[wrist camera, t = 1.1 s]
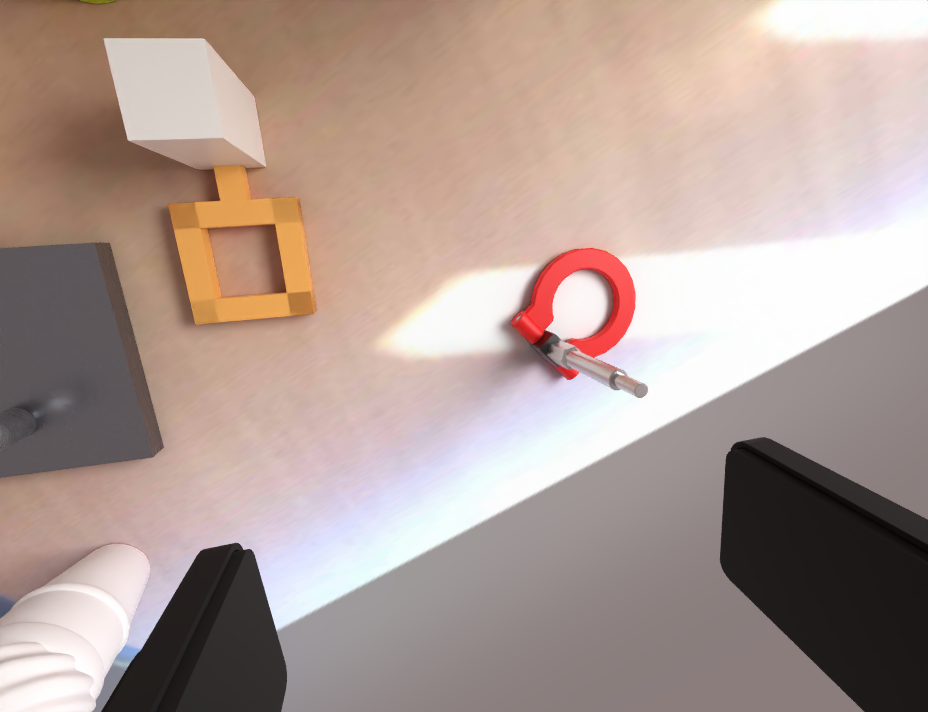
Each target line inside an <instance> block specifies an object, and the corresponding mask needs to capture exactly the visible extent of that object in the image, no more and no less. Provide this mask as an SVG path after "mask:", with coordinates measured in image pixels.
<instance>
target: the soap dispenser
mask: <svg viewBox="0 0 928 712" xmlns="http://www.w3.org/2000/svg"><path fill="white" fill-rule="evenodd" d="M79 1H83V2H87V3H96V4H101V3H109V2H113V1H116V0H79Z"/></svg>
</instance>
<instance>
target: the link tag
mask: <svg viewBox="0 0 928 712" xmlns="http://www.w3.org/2000/svg"><path fill="white" fill-rule="evenodd" d="M103 39H104V43H105V47H106V52H107V56H108V60H109V64H110V68H111V72H112V76H113V81H114V85H115V89H116V93H117V97H118V101H119V106H120V110H121V114H122V118H123V122H124V126H125V131H126V135H127V139H128V141H130V142H132V143H135V144H137V145H140V146H142V147H144V148H147V149H149V150H152V151H154V152H157V153H159V154H161V155H164V156H166V157H169V158H171V159H173V160H176V161H178V162H181V163H183V164H186V165H188V166H190V167H193V168H195V169H198V170H212V169H214V172H215V177H216V182H217V187H218V192H219V197H220V201H209V202H190V203H170V204H168V206H169V211H170V215H171V220H172V224H173V228H174V233H175V237H176V242H177V246H178V251H179V255H180V259H181V264H182V268H183V273H184V277H185V281H186V286H187V290H188V295H189V299H190V303H191V308H192V312H193V317H194V321H195V324H206V323H217V322H228V321H239V320H250V319H261V318H272V317H283V316H294V315H305V314H314V313H315V312H316V311H317V310H316V304H315V297H314V291H313V284H312V278H311V271H310V265H309V258H308V252H307V245H306V239H305V232H304V226H303V219H302V213H301V206H300V200H299V199H298V198H297V197H288V198H268V199H251V195H250V189H249V184H248V178H247V173H246V168H261V167H266V162H265V156H264V150H263V144H262V138H261V132H260V126H259V120H258V114H257V108H256V103H255V97H254V96H253V95H252V94H251V92H250V91H249V90H248V89H247V88H246V87H245V85H244V84H243V83H242V82H241V81H240V80H239V78H238V77H237V76H236V75H235V74H234V73H233V71H232V70H231V69H230V68H229V67H228V66H227V64H226V63H225V62H224V61H223V60H222V59H221V57H220V56H219V55H218V54H217V53H216V52H215V50H214V49H213V48H212V47H211V46H210V45H209V43H208V42H207V41H206V40H205V39H204V38H103ZM260 225H275V226H276V232H277V238H278V243H279V249H280V255H281V261H282V267H283V273H284V279H285V285H286V291H287V292H277V293H265V294H253V295H241V296H229V297H222V296H221V291H220V286H219V281H218V277H217V272H216V267H215V262H214V257H213V253H212V248H211V243H210V238H209V233H208V229H210V228H227V227H243V226H260Z"/></svg>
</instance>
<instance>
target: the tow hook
mask: <svg viewBox="0 0 928 712" xmlns="http://www.w3.org/2000/svg"><path fill="white" fill-rule="evenodd" d="M581 269H591V270H595V271H597V272H598V273H600V274H602V275H603V276H604V277H605V278H606V279H607V280H608V282H609V284H610V286H611V288H612V291H613V295H614V307H613V311H612V315H611V317H610V319H609V321H608V323H607V324H606V325H605V326H604V328H603V329H602V330H601V331H599V332H598V333H597V334H595V335H594V336H591V337H589V338H585V339H573V338H571V339H568V341H567V342H563V341H561V339H560V338H559V337H558V336H557V335H556V334H554V333H551V332H548V331H546V330H545V329H546V328H547V327H548V326H549V325H550V324H551V323H552V321H553V318H554V317H553V312H552V303H553V299H554V294H555V292H556V290H557V288H558V286H559V285H560V283H561V282H562V281H563V280H564V279H565V278H566V277H567V276H569V275H570V274H571V273H573V272H575V271H578V270H581ZM634 310H635V289H634V285H633V280H632V278H631V276H630V274H629V272H628V270H627V268H626V267H625V266H624V265H623V264H622V263H621V262H620V260H619V259H618V258H617V257H615V256H613V255H611V254H610V253H608V252H606V251H603V250H599V249H594V248H586V249H574V250H572V251H569V252H566V253H563V254H561V255H560V256H558V257H557V258H556V259H554V260H553V261H551V262H550V263H549V264H548V265H547V267H546V268H545V269H544V270H543V271H542V273H541V274H540V276H539V278H538V280H537V282H536V284H535V286H534V289H533V293H532V298H531V304H530V305H529V306H528V307H527V309H526V310H525V311H521V312H520V313H518V314H517V315H516V316H515V317H514V318H513V320H512V321H511V325H512V326H513V327H514V328H515V329H516V330H517V331H518V332H519V333H520V334H521V335H522V336H524V337H525V338H526V339H527V340H528V341H529V342H530V345H531V346H532V347H533V348H534V349H535V350H536V351H537V352H538V353H539V354H540V355H541V356H542V357H543V358H544V359H545V360H546V361H547V362H549V363H551V364H552V365H553V366H554V367H555V368H556V369H557V370H558V371H559V372H560V373H561V374H562V375H563V376H564V377H565V378H566V379H567V380H571V379H573V378H574V377H576V376H577V375H578V373H579V372H581V373H583V374H584V375H586V376H588V377H590V378H592V379H594V380H596V381H598V382H600V383H602V384H604V385H606V386H608V387H610V388H611V389H614V390H620V389H622V390H624V391H626V392H628V393H630V394H632V395H634V396H636V397H638V398H642V397H644V396H645V395H646V394H647V391H648V388H647V386H646V385H645V384H644V383H641V382H639V381H637V380H635V379H632V378H630V377H628V376H627V373H626V372H625V371H624V370H621V369H619V368H617V367H614V366H612V365H610V364H607V363H605V362H602V361H600V360H598V359H595V358H594V357H596V356H598V355H601V354H603V353H605V352H607V351H608V350H609V349H611V348H612V347H614V346H615V345H616V344H617V343H618V342H619V341H620V339H621V338H622V337H623V336H624V335H625V333H626V331H627V329H628V327H629V325H630V323H631V321H632V318H633V314H634Z"/></svg>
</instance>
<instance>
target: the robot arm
mask: <svg viewBox="0 0 928 712" xmlns="http://www.w3.org/2000/svg"><path fill="white" fill-rule="evenodd" d="M720 563H721V566H722V569H723V571H724V573H725V574H726V576H727V577H728V578H729V580H730V581H732V583H734V584H735V585H736V587H737V588H739V589H740V590H741V591H742V592H743V593H744V594H745V595H746V596H747V597H748V598H749V599H750V600H751V601H752V602H753V603H754V604H755V605H756V606H757V607H758V608H759V609H760V610H761V611H762V612H763V613H764V614H765V615H766V616H767V617H768V618H769V619H770V620H771V621H772V622H773V623H774V624H775V625H776V626H777V627H778V628H779V629H780V630H782V631H783V632H784V633H785V634H786V635H787V636H788V637H789V638H790V639H791V640H792V641H793V642H794V643H795V644H796V645H797V646H798V647H799V648H800V649H801V650H802V651H803V652H804V653H805V654H806V655H807V656H808V657H809V658H810V659H811V660H812V661H813V662H814V663H815V664H816V665H817V666H818V667H819V668H820V669H821V670H822V671H823V672H824V673H825V674H826V675H827V676H829V677H830V678H831V679H832V680H833V681H834V682H835V683H836V684H837V685H838V686H839V687H840V688H841V689H842V690H843V691H844V692H845V693H846V694H847V695H848V696H849V697H850V698H851V699H852V700H853V701H854V702H855V703H856V704H857V705H858V706H859V707H860V708H861V709H862V710H863V711H864V712H928V520H927V519H925V518H923V517H921V516H920V515H918V514H916V513H914V512H912V511H910V510H908V509H906V508H904V507H902V506H900V505H898V504H896V503H894V502H892V501H890V500H888V499H886V498H884V497H882V496H880V495H879V494H877V493H875V492H873V491H871V490H869V489H867V488H865V487H863V486H861V485H859V484H857V483H855V482H853V481H851V480H849V479H847V478H845V477H843V476H841V475H839V474H837V473H835V472H834V471H831V470H830V469H828V468H826V467H824V466H822V465H820V464H818V463H816V462H814V461H812V460H810V459H808V458H806V457H804V456H802V455H800V454H798V453H796V452H794V451H793V450H791V449H789V448H787V447H785V446H783V445H781V444H779V443H777V442H775V441H773V440H771V439H768V438H765V437H763V438H756V439H751V440H746V441H741V442H737V443H735V444H734V445H733V446H732V448H731V451H730V452H728V454H727V456H726V465H725V483H724V500H723V517H722V533H721V552H720ZM286 684H287V671H286V664H285V660H284V656H283V653H282V650H281V646H280V642H279V639H278V636H277V632H276V628H275V625H274V621H273V618H272V614H271V611H270V607H269V604H268V600H267V597H266V593H265V590H264V586H263V583H262V579H261V576H260V572H259V569H258V565H257V562H256V558H255V555H254V553H253V551H252V550H251V549H247V550H243V548H242V546H241V545H240V544H239V543H233V544H228V545H223V546H218V547H213V548H208V549H204V550H202V551H200V552H199V554H198V555H197V556H196V558H195V560H194V562H193V563H192V565H191V567H190V568H189V570H188V572H187V573H186V575H185V577H184V578H183V580H182V582H181V584H180V585H179V587H178V589H177V590H176V592H175V594H174V595H173V597H172V599H171V600H170V602H169V604H168V606H167V607H166V609H165V611H164V612H163V614H162V616H161V617H160V619H159V621H158V622H157V624H156V626H155V628H154V629H153V631H152V633H151V634H150V636H149V638H148V639H147V641H146V643H145V644H144V646H143V648H142V649H141V651H140V652H138V654H137V655H136V656H135V658H134V659H133V660H132V662H131V663H130V665H129V666H128V668H127V670H126V671H125V673H124V675H123V676H122V678H121V680H120V681H119V683H118V685H117V686H116V688H115V690H114V691H113V693H112V695H111V696H110V698H109V700H108V702H107V703H106V705H105V706H104V708H103V710H102V711H101V712H281V709H282V704H283V700H284V695H285V691H286Z"/></svg>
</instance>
